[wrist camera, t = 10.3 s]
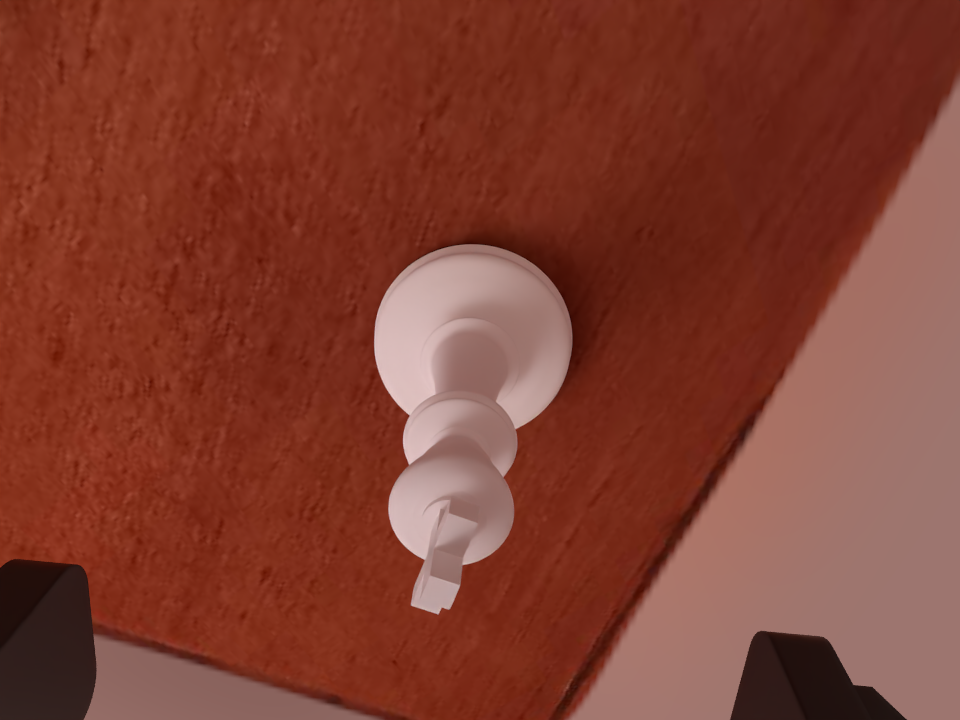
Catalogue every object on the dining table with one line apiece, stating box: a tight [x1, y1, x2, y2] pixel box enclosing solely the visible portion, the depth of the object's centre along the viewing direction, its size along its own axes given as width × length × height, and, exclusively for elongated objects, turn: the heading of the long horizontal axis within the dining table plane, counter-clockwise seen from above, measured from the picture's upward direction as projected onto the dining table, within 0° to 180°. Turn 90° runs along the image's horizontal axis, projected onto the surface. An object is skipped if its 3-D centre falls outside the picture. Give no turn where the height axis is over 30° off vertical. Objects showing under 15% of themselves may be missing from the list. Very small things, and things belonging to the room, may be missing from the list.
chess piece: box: [374, 244, 572, 614], centre depth 16 cm, size 5×5×10 cm
